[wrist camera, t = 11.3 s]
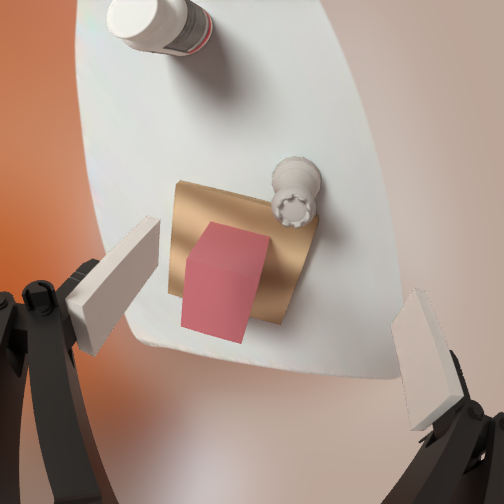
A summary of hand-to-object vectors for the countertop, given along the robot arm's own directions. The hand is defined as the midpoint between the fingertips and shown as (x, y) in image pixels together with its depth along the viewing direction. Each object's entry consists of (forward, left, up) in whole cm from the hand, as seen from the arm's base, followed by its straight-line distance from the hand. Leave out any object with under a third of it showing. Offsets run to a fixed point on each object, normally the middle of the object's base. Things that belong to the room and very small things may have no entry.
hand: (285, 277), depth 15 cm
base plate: (+10, -4, -15) cm, 19 cm away
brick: (+10, -4, -14) cm, 18 cm away
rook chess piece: (0, 0, -16) cm, 16 cm away
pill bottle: (-12, -13, -16) cm, 24 cm away
